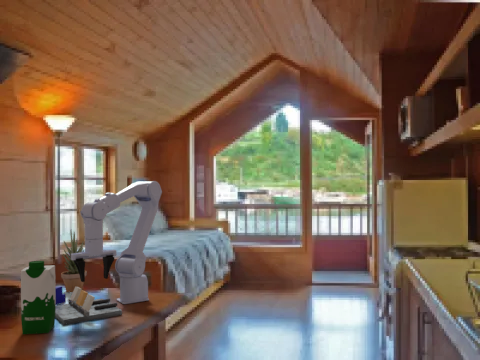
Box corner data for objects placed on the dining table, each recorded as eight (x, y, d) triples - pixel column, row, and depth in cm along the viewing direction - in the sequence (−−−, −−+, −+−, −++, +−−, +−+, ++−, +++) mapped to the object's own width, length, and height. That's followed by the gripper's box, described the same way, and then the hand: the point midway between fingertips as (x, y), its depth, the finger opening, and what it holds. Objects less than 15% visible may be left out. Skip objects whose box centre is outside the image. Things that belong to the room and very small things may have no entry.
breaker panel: (101, 302, 165) (101, 294, 165) (122, 315, 148) (122, 306, 149) (48, 310, 155) (48, 302, 155) (64, 325, 138) (64, 315, 138)
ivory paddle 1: (73, 299, 158) (78, 287, 159) (76, 302, 155) (81, 289, 156) (69, 298, 157) (75, 286, 159) (72, 300, 155) (78, 288, 156)
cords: (109, 301, 160) (109, 298, 160) (117, 306, 154) (117, 303, 154) (87, 304, 156) (87, 301, 156) (94, 309, 149) (94, 306, 149)
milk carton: (17, 335, 129) (17, 263, 129) (27, 326, 138) (27, 258, 138) (51, 334, 130) (50, 262, 131) (58, 324, 139) (58, 257, 140)
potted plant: (69, 287, 190) (69, 227, 190) (91, 288, 188) (90, 227, 188) (55, 293, 180) (55, 229, 180) (77, 294, 178) (77, 229, 178)
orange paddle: (79, 304, 152) (84, 291, 153) (82, 306, 149) (88, 293, 150) (75, 303, 152) (81, 290, 153) (78, 305, 149) (84, 292, 150)
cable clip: (65, 302, 166) (65, 285, 166) (56, 305, 162) (56, 288, 162) (39, 299, 171) (39, 283, 171) (30, 302, 167) (29, 285, 167)
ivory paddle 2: (85, 308, 147) (91, 295, 148) (89, 311, 144) (95, 297, 145) (82, 307, 146) (87, 294, 147) (85, 310, 143) (91, 296, 144)
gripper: (111, 235, 161) (111, 275, 161) (68, 239, 153) (68, 280, 153) (118, 237, 155) (118, 278, 155) (74, 241, 147) (74, 284, 147)
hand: (94, 279), depth 154 cm, fingers open, 7 cm apart
